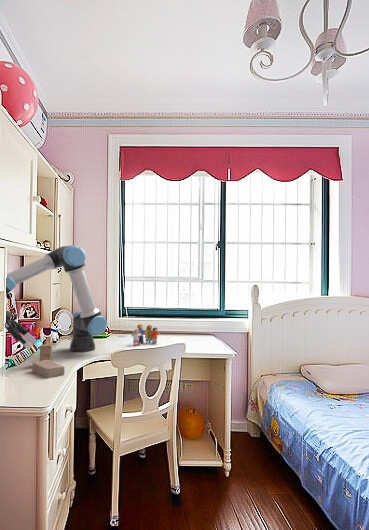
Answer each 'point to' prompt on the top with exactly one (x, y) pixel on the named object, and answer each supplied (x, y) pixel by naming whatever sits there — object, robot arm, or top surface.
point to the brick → (48, 368)
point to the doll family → (150, 335)
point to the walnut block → (45, 352)
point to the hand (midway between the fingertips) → (32, 345)
